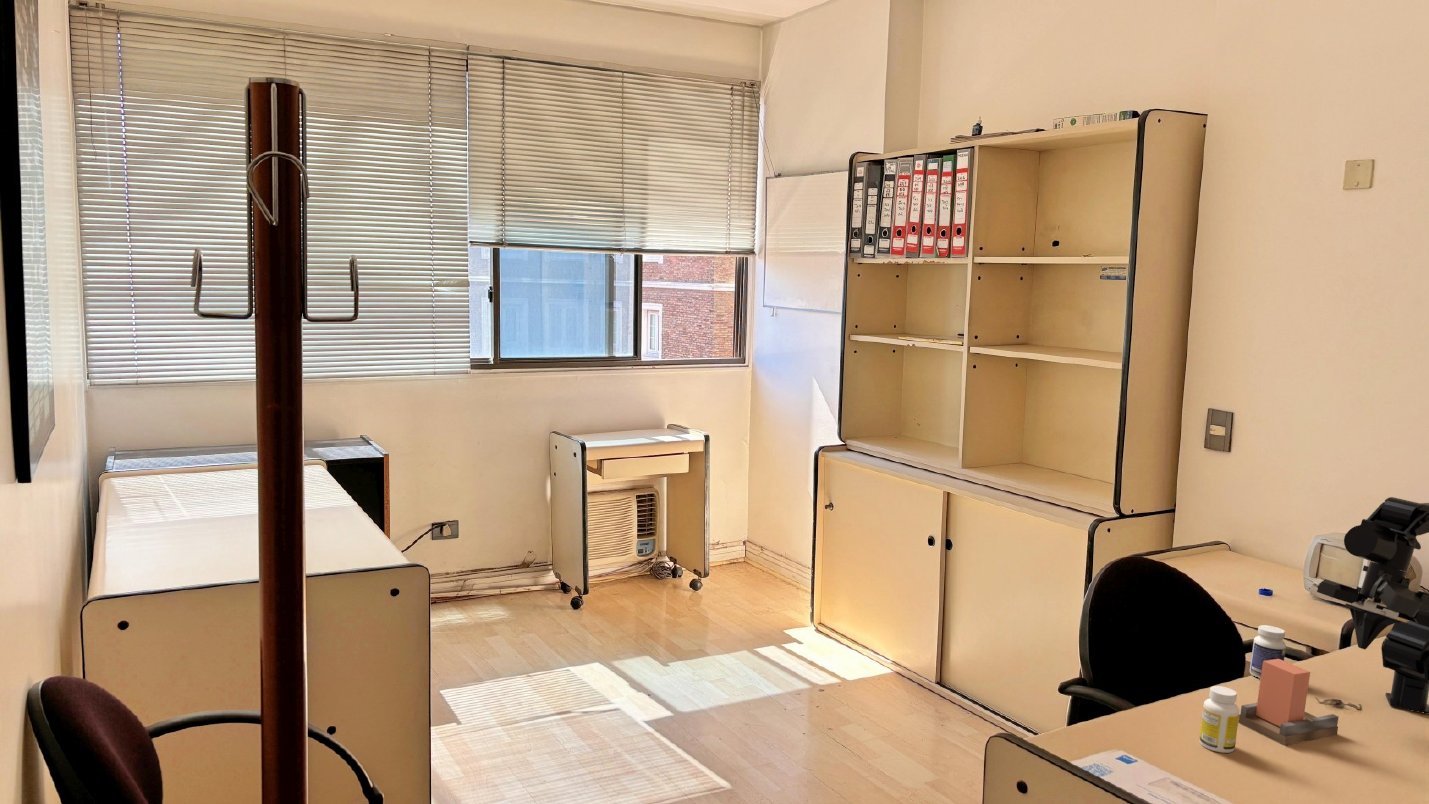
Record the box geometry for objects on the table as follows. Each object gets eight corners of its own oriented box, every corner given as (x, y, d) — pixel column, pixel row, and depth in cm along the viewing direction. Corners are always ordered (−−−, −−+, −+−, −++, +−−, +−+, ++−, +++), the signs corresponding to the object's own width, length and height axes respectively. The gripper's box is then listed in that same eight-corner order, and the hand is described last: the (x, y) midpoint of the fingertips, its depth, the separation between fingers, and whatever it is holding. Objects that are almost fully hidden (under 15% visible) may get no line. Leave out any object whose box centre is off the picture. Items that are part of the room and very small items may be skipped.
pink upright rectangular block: (1271, 712, 181) (1278, 658, 179) (1302, 726, 175) (1310, 671, 174) (1255, 715, 179) (1263, 661, 178) (1286, 729, 174) (1294, 674, 172)
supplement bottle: (1231, 742, 172) (1239, 687, 170) (1236, 756, 166) (1244, 700, 165) (1196, 736, 173) (1204, 681, 172) (1200, 749, 168) (1208, 693, 167)
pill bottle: (1285, 684, 199) (1292, 635, 198) (1254, 680, 200) (1260, 631, 199) (1275, 673, 205) (1282, 625, 204) (1245, 669, 206) (1251, 622, 205)
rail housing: (1289, 713, 185) (1292, 695, 185) (1336, 734, 177) (1339, 716, 177) (1238, 722, 180) (1240, 703, 179) (1284, 745, 172) (1287, 726, 171)
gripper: (1366, 559, 176) (1338, 644, 176) (1470, 591, 175) (1442, 676, 176) (1328, 548, 187) (1302, 629, 187) (1426, 578, 187) (1400, 659, 187)
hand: (1361, 648), depth 184 cm, fingers closed
